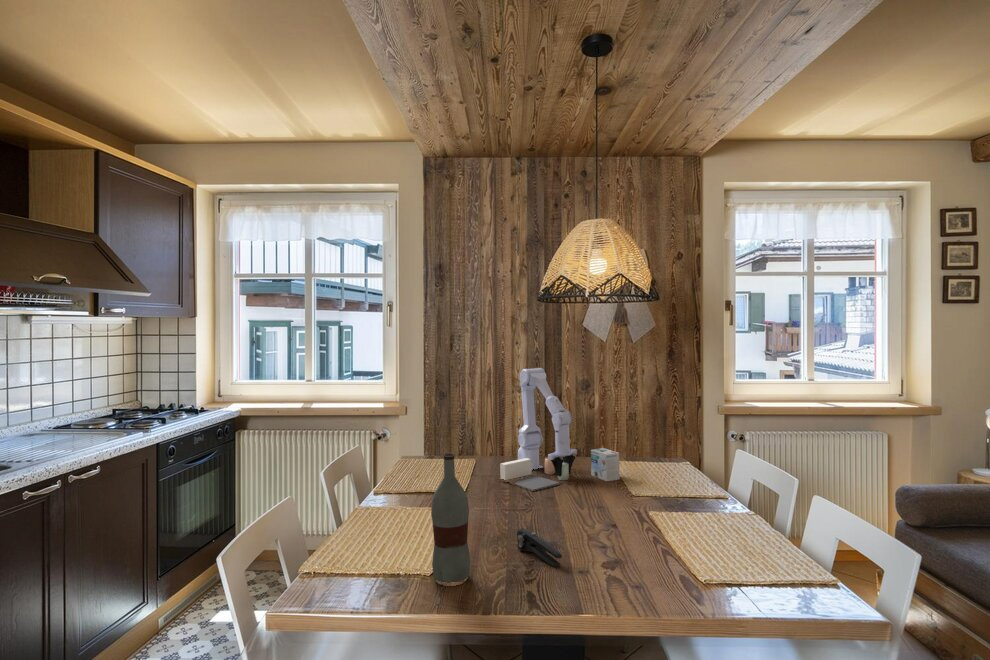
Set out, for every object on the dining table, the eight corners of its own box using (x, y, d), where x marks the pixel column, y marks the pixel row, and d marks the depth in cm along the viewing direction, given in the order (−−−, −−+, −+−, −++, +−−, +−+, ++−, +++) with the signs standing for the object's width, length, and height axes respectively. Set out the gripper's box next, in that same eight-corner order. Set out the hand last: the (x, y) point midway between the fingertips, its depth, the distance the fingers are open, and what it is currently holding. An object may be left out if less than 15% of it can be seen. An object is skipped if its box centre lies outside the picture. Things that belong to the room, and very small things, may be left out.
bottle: (451, 566, 132) (449, 448, 132) (478, 576, 126) (475, 453, 127) (424, 580, 125) (421, 455, 125) (451, 592, 119) (448, 461, 119)
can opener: (510, 548, 144) (510, 527, 144) (531, 542, 147) (531, 522, 147) (548, 572, 128) (547, 550, 128) (570, 566, 132) (570, 543, 132)
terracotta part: (542, 472, 220) (542, 458, 220) (549, 470, 223) (549, 456, 223) (550, 475, 216) (550, 460, 216) (557, 473, 219) (557, 458, 219)
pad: (509, 483, 205) (509, 481, 205) (535, 477, 213) (535, 475, 213) (532, 491, 194) (532, 489, 194) (559, 484, 202) (559, 482, 202)
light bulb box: (590, 475, 214) (590, 449, 215) (604, 473, 217) (603, 447, 217) (606, 481, 205) (606, 454, 205) (620, 479, 208) (619, 452, 208)
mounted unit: (498, 480, 209) (498, 463, 209) (526, 474, 218) (526, 457, 218) (505, 483, 206) (504, 465, 206) (533, 476, 215) (532, 459, 215)
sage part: (555, 478, 211) (555, 463, 211) (563, 476, 213) (563, 462, 214) (563, 480, 207) (563, 465, 207) (571, 478, 210) (570, 463, 210)
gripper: (556, 445, 203) (557, 480, 203) (582, 440, 212) (582, 473, 212) (544, 442, 209) (544, 476, 208) (569, 437, 217) (570, 470, 217)
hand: (563, 474), depth 210 cm, fingers closed on sage part, 4 cm apart
